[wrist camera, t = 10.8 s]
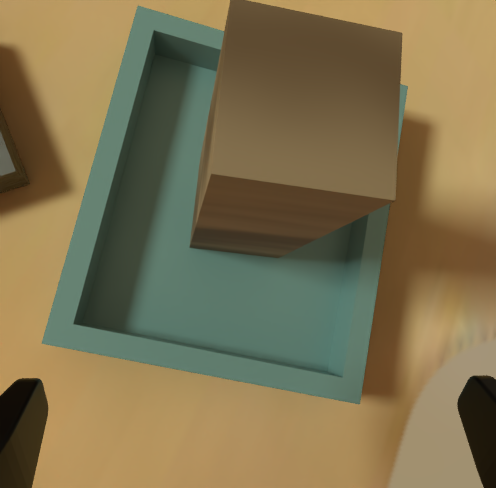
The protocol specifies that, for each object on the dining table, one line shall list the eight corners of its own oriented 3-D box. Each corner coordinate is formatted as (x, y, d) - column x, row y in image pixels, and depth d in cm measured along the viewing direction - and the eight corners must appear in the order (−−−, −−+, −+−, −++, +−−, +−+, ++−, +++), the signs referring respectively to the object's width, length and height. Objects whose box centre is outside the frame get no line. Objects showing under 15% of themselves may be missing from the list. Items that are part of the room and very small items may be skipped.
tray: (335, 392, 23) (359, 404, 20) (59, 339, 21) (41, 343, 18) (381, 111, 26) (408, 86, 23) (141, 42, 24) (137, 5, 21)
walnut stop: (278, 258, 22) (395, 200, 11) (189, 247, 22) (210, 173, 10) (285, 173, 23) (402, 32, 11) (199, 160, 22) (230, -3, 11)
